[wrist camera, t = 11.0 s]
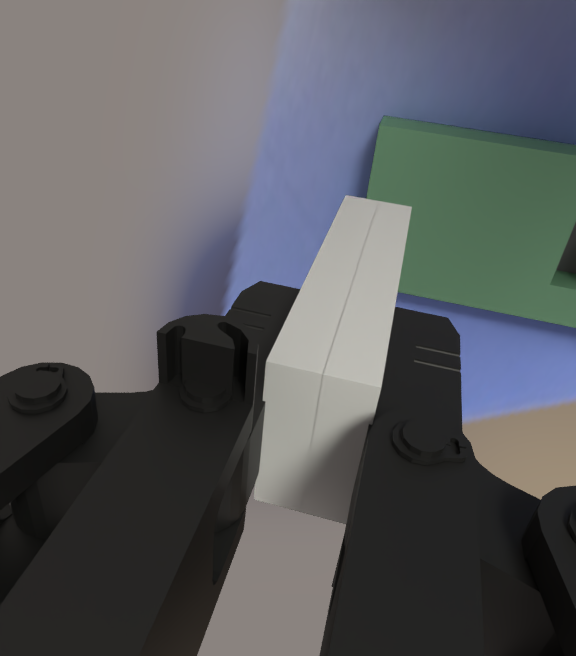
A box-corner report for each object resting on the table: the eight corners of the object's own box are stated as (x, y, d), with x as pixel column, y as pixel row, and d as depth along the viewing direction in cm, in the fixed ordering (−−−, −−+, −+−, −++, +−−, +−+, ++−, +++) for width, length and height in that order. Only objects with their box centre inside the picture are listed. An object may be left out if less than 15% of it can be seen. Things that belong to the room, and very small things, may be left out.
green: (383, 115, 39) (379, 124, 36) (720, 167, 36) (740, 181, 33) (356, 266, 46) (350, 282, 43) (638, 321, 42) (649, 342, 40)
